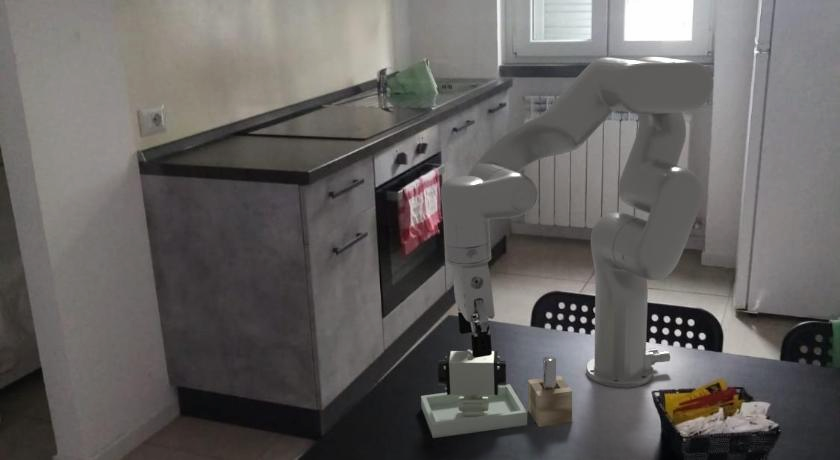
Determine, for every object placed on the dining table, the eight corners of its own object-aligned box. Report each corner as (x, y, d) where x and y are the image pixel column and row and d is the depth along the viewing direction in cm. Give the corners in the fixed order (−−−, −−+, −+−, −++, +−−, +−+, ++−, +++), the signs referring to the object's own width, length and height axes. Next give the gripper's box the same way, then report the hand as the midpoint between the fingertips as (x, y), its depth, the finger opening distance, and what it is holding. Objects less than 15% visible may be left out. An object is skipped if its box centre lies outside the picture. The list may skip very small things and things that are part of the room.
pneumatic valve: (506, 419, 150) (505, 356, 147) (439, 419, 152) (436, 356, 148) (507, 404, 156) (505, 343, 152) (442, 403, 157) (439, 343, 153)
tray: (510, 396, 160) (509, 384, 159) (527, 424, 150) (526, 412, 149) (421, 408, 157) (420, 395, 156) (433, 438, 147) (432, 425, 146)
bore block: (560, 405, 155) (560, 375, 153) (572, 422, 150) (572, 391, 148) (528, 410, 154) (527, 379, 153) (538, 427, 149) (538, 395, 147)
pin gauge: (553, 412, 153) (553, 355, 150) (557, 418, 151) (557, 361, 148) (541, 414, 153) (541, 357, 150) (545, 420, 151) (545, 362, 147)
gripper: (504, 264, 136) (510, 362, 142) (477, 232, 153) (483, 320, 158) (457, 271, 135) (465, 369, 141) (435, 238, 152) (443, 327, 157)
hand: (475, 343), depth 149 cm, fingers open, 9 cm apart
